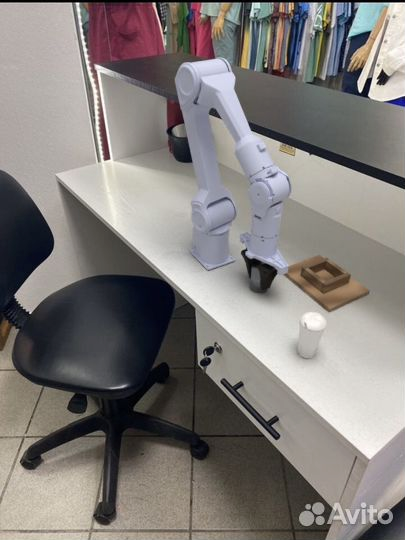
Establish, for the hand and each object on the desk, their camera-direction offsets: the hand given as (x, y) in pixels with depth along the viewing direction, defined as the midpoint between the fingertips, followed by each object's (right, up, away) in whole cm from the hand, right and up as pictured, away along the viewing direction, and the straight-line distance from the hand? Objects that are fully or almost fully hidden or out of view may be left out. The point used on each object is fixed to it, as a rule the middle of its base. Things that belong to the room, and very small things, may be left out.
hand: (259, 282), depth 87 cm
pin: (0, -1, +1) cm, 1 cm away
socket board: (+15, 0, +2) cm, 15 cm away
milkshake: (+6, -13, -14) cm, 20 cm away
